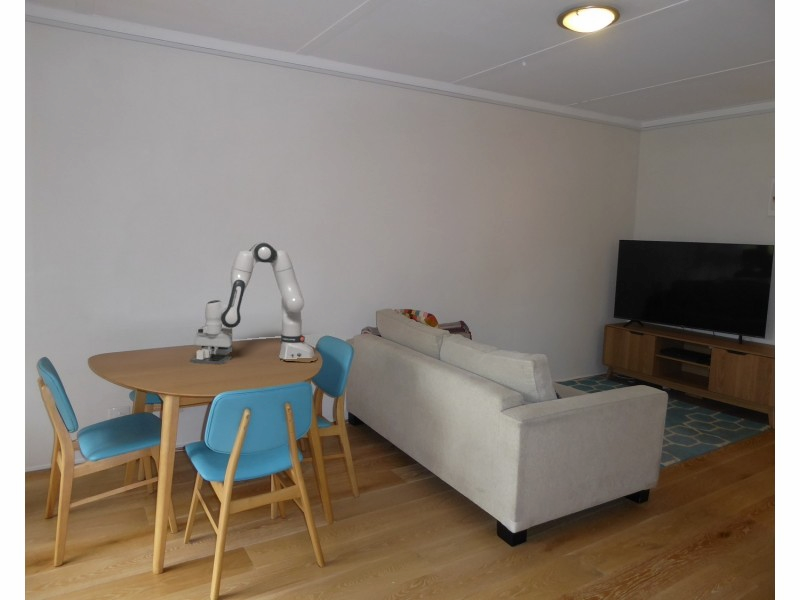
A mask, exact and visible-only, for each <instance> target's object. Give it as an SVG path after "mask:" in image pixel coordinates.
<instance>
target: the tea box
mask: <svg viewBox="0 0 800 600" xmlns="http://www.w3.org/2000/svg"><path fill="white" fill-rule="evenodd" d="M222 330H225V331H230V332H231V333H232V334H233V328H228V327H222ZM230 332H229V333H230ZM204 347H208V346H200V348H201V350H203V348H204ZM211 349H212V351H214V350H215V349H216V348H214V347H213V346H212V348H211ZM230 352H231V353H232V352H233V345H232V346H231V347H229V348H228V347H218V349H217V351H216V354H215V355H221V356H228V355H229V354H231V353H230Z"/></svg>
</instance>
